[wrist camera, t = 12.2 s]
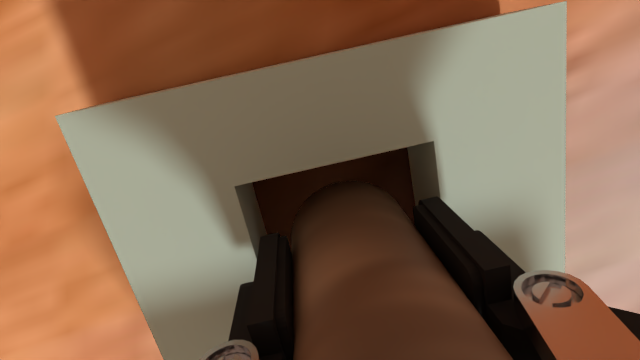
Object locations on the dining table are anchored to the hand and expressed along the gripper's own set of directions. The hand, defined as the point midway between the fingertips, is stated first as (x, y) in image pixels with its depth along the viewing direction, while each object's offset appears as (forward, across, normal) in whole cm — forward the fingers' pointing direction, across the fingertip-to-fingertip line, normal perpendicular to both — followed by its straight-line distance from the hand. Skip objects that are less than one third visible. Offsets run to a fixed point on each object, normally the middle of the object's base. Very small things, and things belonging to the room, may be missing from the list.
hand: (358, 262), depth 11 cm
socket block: (+4, 0, 0) cm, 4 cm away
